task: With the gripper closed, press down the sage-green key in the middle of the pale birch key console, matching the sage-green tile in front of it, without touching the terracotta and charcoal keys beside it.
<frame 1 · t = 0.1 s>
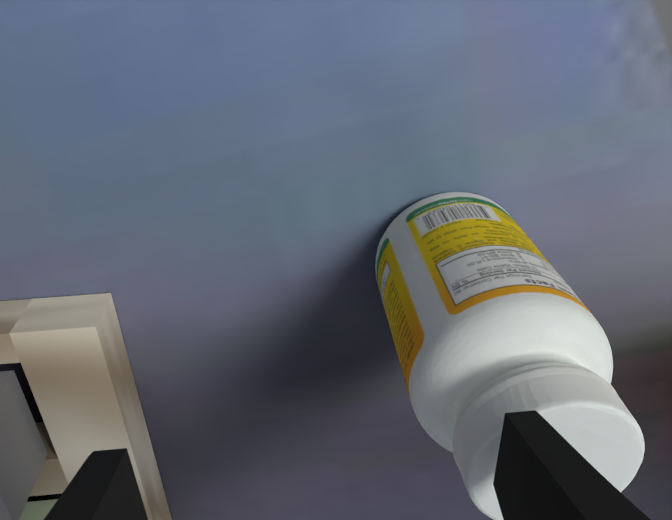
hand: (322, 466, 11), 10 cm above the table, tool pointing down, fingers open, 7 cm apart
supplement bottle: (442, 253, 21), on the table
key console: (45, 493, 25), on the table
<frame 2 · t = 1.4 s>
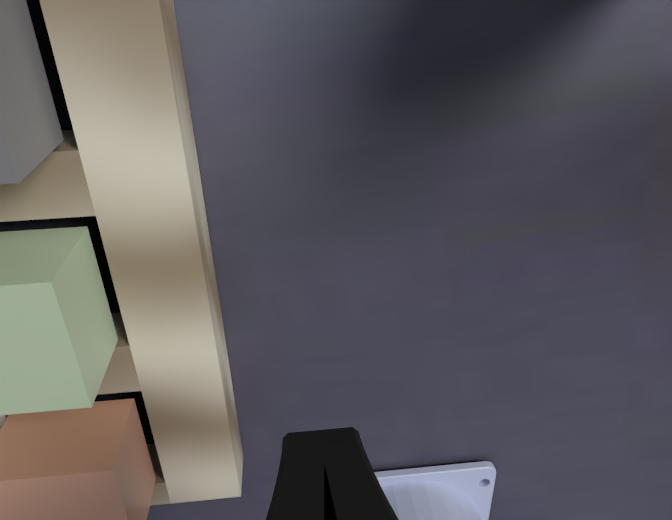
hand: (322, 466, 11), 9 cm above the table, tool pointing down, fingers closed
key terracotta: (75, 480, 19), point 3 cm above the table, slide at 0.0 cm
key sage: (14, 320, 15), point 4 cm above the table, slide at 0.0 cm
key console: (56, 258, 18), on the table
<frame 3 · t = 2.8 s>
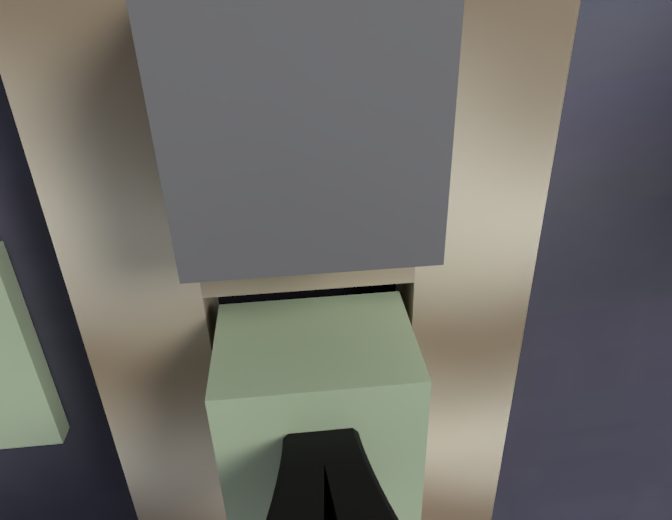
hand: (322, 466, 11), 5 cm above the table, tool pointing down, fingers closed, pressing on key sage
key charcoal: (302, 116, 9), point 3 cm above the table, slide at 0.0 cm
key sage: (318, 413, 12), point 3 cm above the table, slide at 0.2 cm, touching gripper
key console: (309, 322, 15), on the table
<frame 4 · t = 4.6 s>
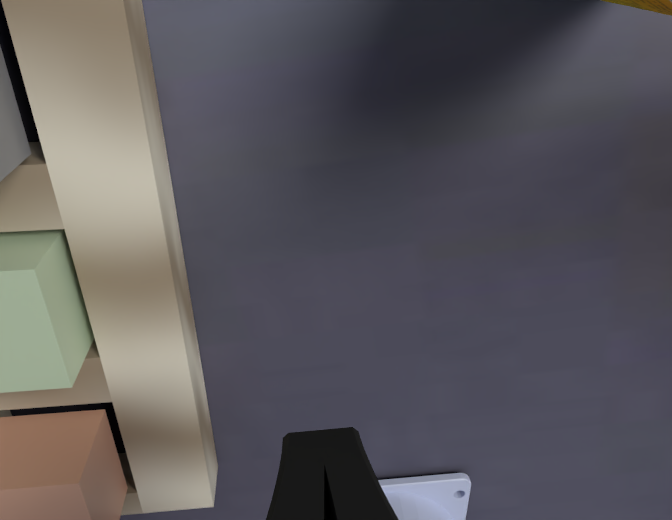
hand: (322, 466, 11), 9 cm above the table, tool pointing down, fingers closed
key terracotta: (43, 491, 19), point 4 cm above the table, slide at 0.0 cm
key sage: (0, 305, 17), point 2 cm above the table, slide at 1.3 cm
key console: (28, 268, 18), on the table
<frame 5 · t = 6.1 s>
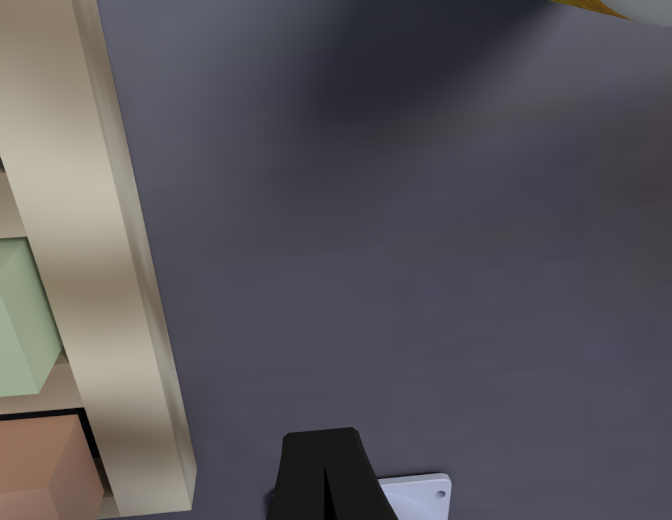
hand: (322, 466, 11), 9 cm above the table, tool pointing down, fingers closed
key terracotta: (17, 496, 19), point 3 cm above the table, slide at 0.0 cm
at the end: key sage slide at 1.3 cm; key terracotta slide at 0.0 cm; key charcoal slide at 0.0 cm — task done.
